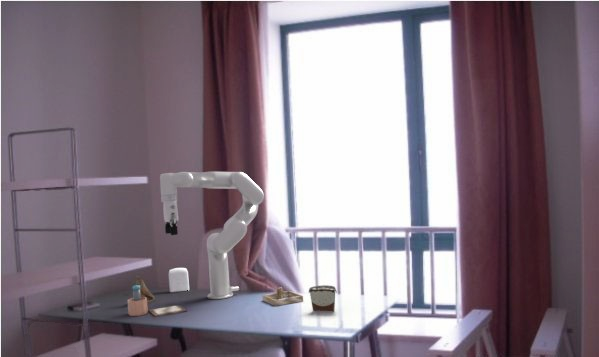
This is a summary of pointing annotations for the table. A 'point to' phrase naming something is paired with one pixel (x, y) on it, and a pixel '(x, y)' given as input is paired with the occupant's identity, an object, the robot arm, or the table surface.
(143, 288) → the brown carved statuette
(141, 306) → the pen cup
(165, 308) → the picture frame
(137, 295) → the marker
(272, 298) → the artifact tray
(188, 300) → the table surface
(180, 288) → the photo printer
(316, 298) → the food container
